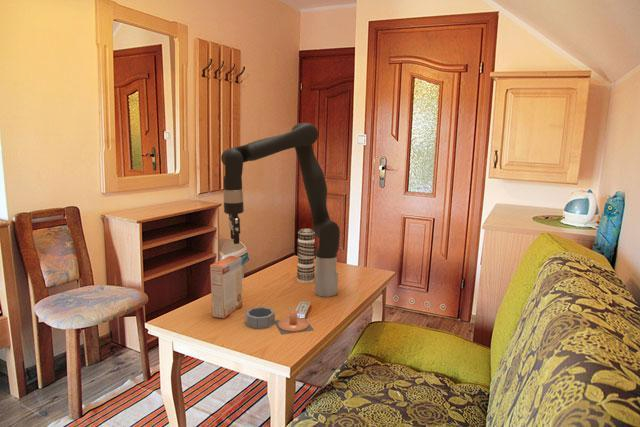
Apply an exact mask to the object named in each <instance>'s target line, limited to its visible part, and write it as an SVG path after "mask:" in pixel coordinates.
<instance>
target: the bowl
mask: <svg viewBox="0 0 640 427" xmlns="http://www.w3.org/2000/svg"><path fill="white" fill-rule="evenodd" d="M275 315H276V314H275V311H274V309H273V308H270V307H266V306H257V307H256V306H255V307H251V308H250V309H248V310H246V311H245V323H246V325H247V327H248V328H251V329H252V328H253V329H255V330H256V329H257V330H259V329H260V330H261V329H267V328H271V326H273V325H274V324H275V320H276V319H275V317H276V316H275Z"/></svg>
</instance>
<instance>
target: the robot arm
mask: <svg viewBox="0 0 640 427" xmlns="http://www.w3.org/2000/svg"><path fill="white" fill-rule="evenodd" d="M318 138H319V131H318V128H317V127H316V126H315V125H314V124H312V123H309V122H300V123H297V124H294V126H293V127H292V128H291V130H290V131H288V132H285V133H283V134H279V135H273V136H269V137H265V138H261V139H258V140H254V141H251V142H249V143H247V144H244V145H239V146H235V147H231V148H227V149H225V150H224V151H223V152H222V154H221V156H220V159H221V160H220V161H221V163H222V165H224V174H225V175H224V176H223V212H224V213H225V214H226V215H228V226H229V230H230V239H231V240H233V241H232V242H233V244H234V245H239V244H240V234H241V222H240V221H241V218H240V216H239V215H240V214H243V213H244V210H245V209H244V192H243V191H244V190H243V169H244V163H248V162H252V161H254V162H255V161H258V160H260V159H265V158H266V157H269V156H272V155H274V154H277V153H280V152H282V151H287V150H289V149H295V152H296V156H297V158H298V163H299V168H300V172H301V175H302V176H301V177H302V181H303V186H304V190H305V193H306V197H307V201H308V204H309V208H310V212H311V217H312V220H311V221H312V226H313V232H315V233H314V235H315V236H316V237H317V238H318V239H319V241H318V244H319V245H318V248H316V250H315V274H314V276H315V277H314V282H315V286H314V293H315V295H316V296H319V297H327V298H329V297H334V296H335V295H338V291H339V290H338V289H339V287H338V286H339V274H338V272H337V264H338V262H337V261H338V260H337V258H338V251H339V248H340V236H341V234H340V233H341V232H340V227H339V225H338V223H337V222H335V221H333V220H331V218H330V216H329V215H330V214H329V211H328V208H327V200H328V186H327V182H326V176H325V173H324V171H323V169H322V166H321V165H320V162H319V161H318V159H317V158H316V154H315V152H314V147H313V145H314V144H315V143H316V141H317V140H318Z"/></svg>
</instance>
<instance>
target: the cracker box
mask: <svg viewBox="0 0 640 427" xmlns="http://www.w3.org/2000/svg"><path fill="white" fill-rule="evenodd" d="M242 266H243V264H242V256H236V255H235V256H234V255H228V256H227V257H224V258H222V259H221V260H218V261H216V262H214V263H212V264H210V265H209V267H210V268H209V270H210V288H211V289H210V290H211V291H210V292H211V293H210V294H211V295H210V296H211V316H212V317H213V318H217V319H227V318H228V317H229V316H231V314H232V313H234V312H235V311H236V310H239V309H240V308H242V307H243V304H244V302H243V273H242V272H243V268H242Z"/></svg>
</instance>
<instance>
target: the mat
mask: <svg viewBox="0 0 640 427" xmlns="http://www.w3.org/2000/svg"><path fill="white" fill-rule="evenodd" d="M303 319H306V317H305V318H303ZM280 320H281V319H277V320H276V319H275V323H274V324H275V326H276V328H277V330H278V331H279V333H280V335H281V336H283V335H289V334H296V333H306V332H311V331H315V329H314V328H313V327H312V325H311V324H310V323H309V326H308V328H307V329H305V330H303V331H300V332H287V331H283V330H281V329H279V327H278V322H279V321H280Z"/></svg>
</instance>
